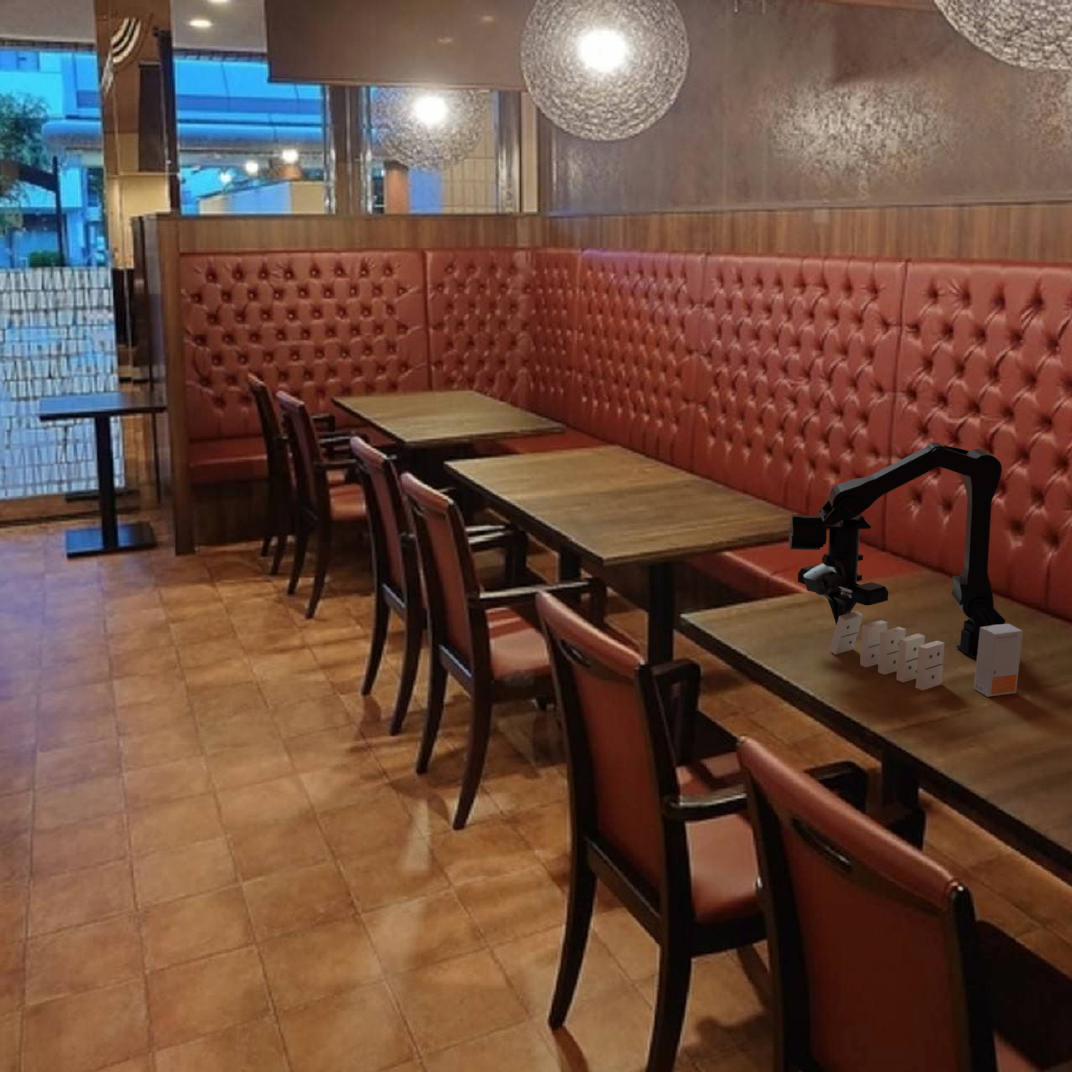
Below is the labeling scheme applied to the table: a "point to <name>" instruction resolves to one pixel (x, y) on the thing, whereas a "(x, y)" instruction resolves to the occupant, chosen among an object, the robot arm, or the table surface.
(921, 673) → the domino
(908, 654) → the domino
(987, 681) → the skincare box
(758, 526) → the table surface
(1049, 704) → the table surface
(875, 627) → the domino
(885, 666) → the domino
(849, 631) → the domino
